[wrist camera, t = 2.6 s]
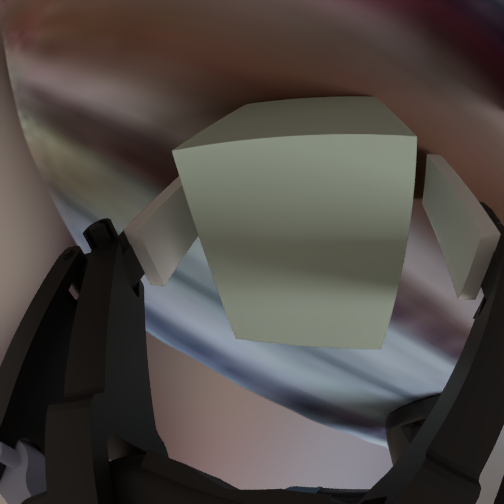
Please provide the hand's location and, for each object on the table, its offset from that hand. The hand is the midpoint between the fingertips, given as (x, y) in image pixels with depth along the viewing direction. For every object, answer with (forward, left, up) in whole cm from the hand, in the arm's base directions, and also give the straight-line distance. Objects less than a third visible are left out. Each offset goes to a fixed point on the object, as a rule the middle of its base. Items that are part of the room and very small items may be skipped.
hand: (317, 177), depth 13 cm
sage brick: (0, 0, 0) cm, 0 cm away
